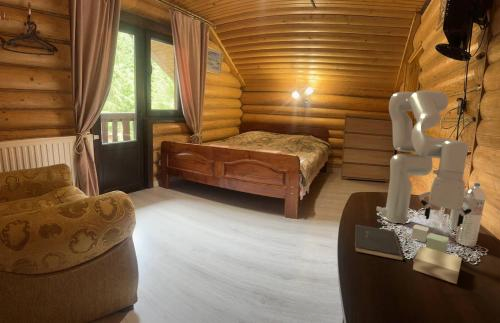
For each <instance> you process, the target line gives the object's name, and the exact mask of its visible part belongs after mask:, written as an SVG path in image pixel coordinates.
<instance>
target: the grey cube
mask: <svg viewBox="0 0 500 323" xmlns="http://www.w3.org/2000/svg"><path fill="white" fill-rule="evenodd" d="M429 230H430V228H429V227H427V226H423V225H419V224H414V225H413V227H412V232H411V238H410V239H411V240H412V239H417V240H418V241H417V242H419V241H420V243H423V242H425V243H427V240H426V239H428V237H427V236H429Z"/></svg>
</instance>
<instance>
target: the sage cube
mask: <svg viewBox="0 0 500 323" xmlns="http://www.w3.org/2000/svg"><path fill="white" fill-rule="evenodd" d="M449 238H450V237H448V236H444V235H440V234H436V233H433V232H429V233H428V237H427V240H426V245H425V247H426V248H430V249H433V250H437V251H440V252H444V253H447V250H448V245H449Z"/></svg>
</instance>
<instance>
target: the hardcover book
mask: <svg viewBox="0 0 500 323" xmlns="http://www.w3.org/2000/svg"><path fill="white" fill-rule="evenodd" d="M354 228H355V229H354V230H355V232H354V233H355V234H354V248H355V252H359V253H363V254H364V253H365V254H370V255H374V256H379V257H383V258H389V259H395V260H400V261H404V255H403V252H402V247H401V245H400V241H399V239H398V236H397V233H396V231H395V230H392V229H391V230H390V229H385V228H379V227H372V226H366V225H361V224H355V227H354Z"/></svg>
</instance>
